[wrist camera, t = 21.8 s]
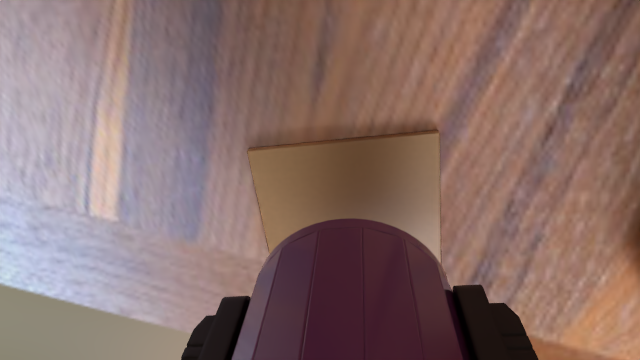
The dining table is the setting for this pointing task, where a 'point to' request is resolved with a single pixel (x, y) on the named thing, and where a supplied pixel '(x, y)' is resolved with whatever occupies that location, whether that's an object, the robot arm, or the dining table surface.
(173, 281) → the dining table surface
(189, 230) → the dining table surface
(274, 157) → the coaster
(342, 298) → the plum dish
